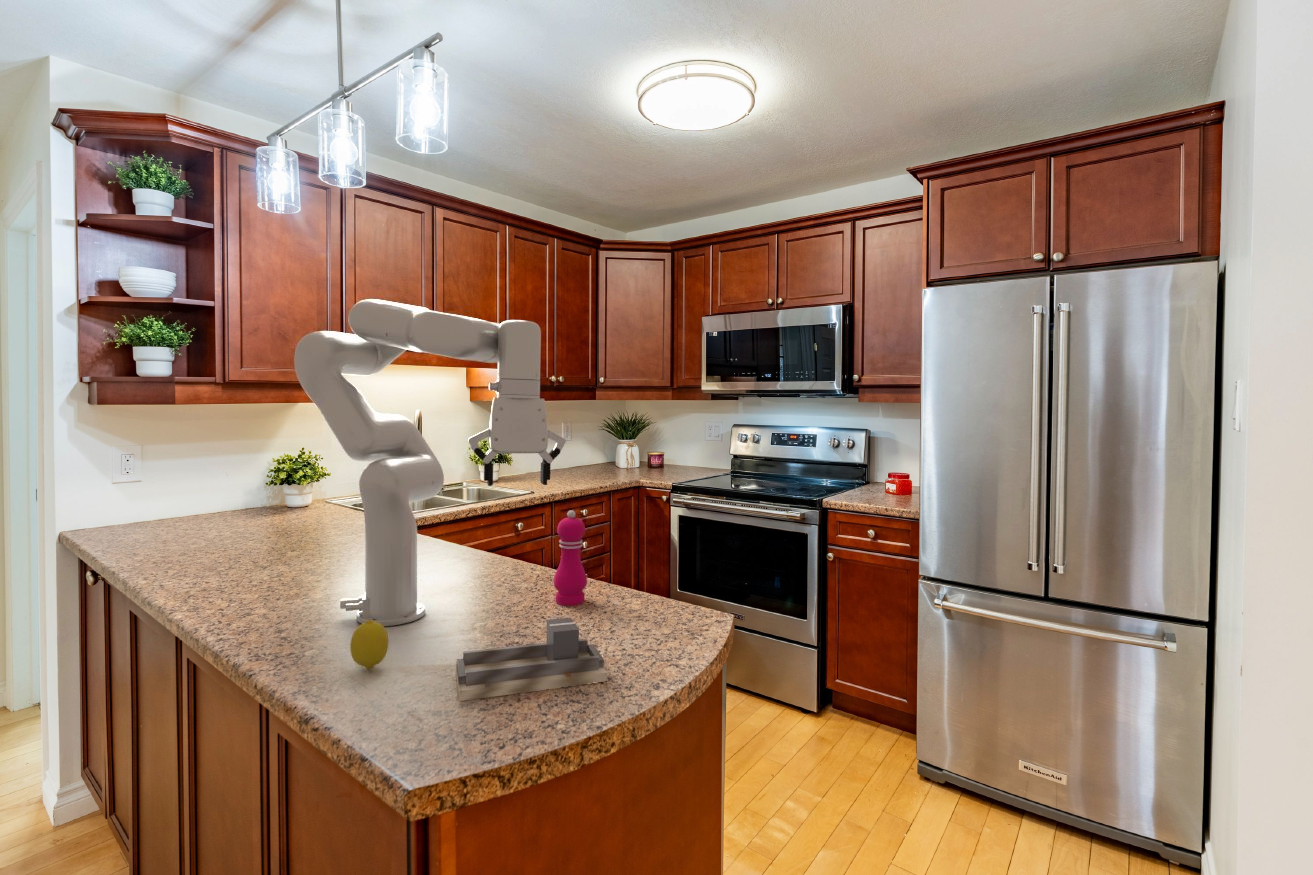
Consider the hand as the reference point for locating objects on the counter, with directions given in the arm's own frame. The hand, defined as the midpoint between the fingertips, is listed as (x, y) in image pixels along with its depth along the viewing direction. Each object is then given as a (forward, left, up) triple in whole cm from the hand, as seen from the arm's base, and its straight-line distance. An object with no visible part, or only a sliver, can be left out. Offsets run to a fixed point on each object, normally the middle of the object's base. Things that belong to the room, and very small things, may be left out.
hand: (517, 484), depth 117 cm
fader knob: (+5, -18, -26) cm, 32 cm away
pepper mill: (+14, +18, -28) cm, 36 cm away
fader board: (0, -18, -28) cm, 33 cm away
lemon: (-24, -8, -28) cm, 38 cm away
